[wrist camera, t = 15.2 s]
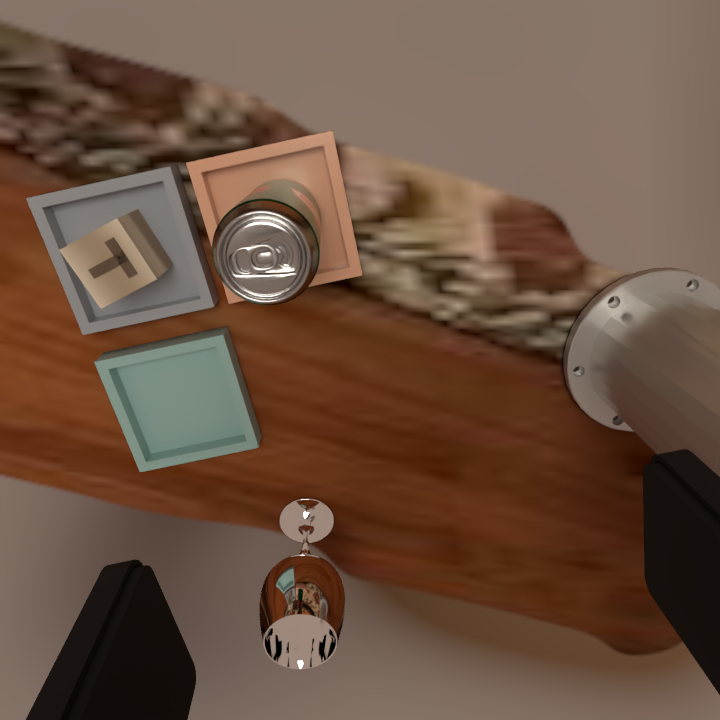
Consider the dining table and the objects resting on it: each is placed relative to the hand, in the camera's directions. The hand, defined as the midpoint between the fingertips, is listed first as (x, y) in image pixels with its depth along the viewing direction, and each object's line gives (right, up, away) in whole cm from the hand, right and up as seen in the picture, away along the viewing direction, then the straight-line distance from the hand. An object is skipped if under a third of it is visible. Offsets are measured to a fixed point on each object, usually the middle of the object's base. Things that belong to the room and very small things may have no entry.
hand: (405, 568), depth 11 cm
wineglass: (-5, -9, +36) cm, 38 cm away
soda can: (-6, +13, +27) cm, 30 cm away
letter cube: (-16, +11, +27) cm, 33 cm away
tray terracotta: (-6, +13, +27) cm, 31 cm away
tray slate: (-16, +11, +27) cm, 34 cm away
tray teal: (-14, +1, +31) cm, 34 cm away
